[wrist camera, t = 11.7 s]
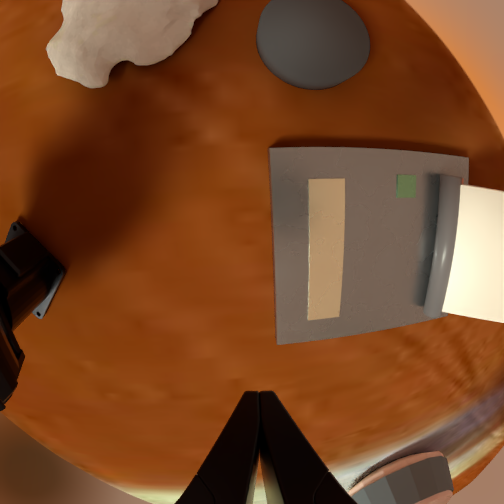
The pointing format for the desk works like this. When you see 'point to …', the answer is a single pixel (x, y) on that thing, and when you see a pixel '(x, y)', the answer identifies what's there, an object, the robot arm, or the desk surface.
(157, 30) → the decorative stone
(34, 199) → the desk surface
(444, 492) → the desk lamp
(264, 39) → the grey river pebble
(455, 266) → the bowl
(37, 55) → the desk surface
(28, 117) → the desk surface
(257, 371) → the desk surface
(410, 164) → the grey flat slab
